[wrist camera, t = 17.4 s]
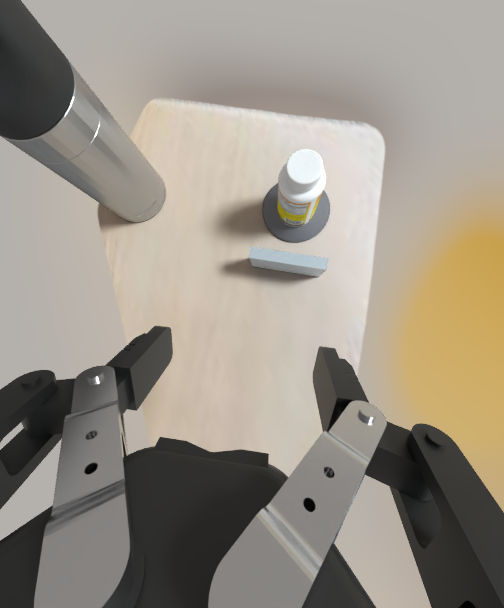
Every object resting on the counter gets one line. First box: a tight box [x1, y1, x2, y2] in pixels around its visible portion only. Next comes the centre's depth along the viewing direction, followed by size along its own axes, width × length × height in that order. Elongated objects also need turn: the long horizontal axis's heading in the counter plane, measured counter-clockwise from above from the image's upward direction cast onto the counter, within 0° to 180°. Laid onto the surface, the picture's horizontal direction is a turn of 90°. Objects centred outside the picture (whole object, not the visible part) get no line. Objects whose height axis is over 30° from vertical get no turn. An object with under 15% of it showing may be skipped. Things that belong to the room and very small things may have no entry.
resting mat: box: [263, 184, 330, 242], centre depth 35 cm, size 10×10×1 cm
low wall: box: [249, 247, 328, 277], centre depth 32 cm, size 10×2×5 cm, turn 80°
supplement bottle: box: [277, 149, 326, 227], centre depth 30 cm, size 6×6×10 cm
